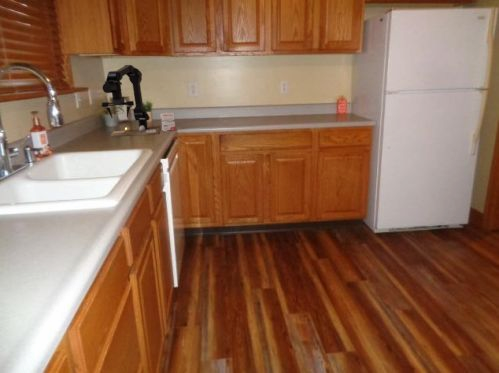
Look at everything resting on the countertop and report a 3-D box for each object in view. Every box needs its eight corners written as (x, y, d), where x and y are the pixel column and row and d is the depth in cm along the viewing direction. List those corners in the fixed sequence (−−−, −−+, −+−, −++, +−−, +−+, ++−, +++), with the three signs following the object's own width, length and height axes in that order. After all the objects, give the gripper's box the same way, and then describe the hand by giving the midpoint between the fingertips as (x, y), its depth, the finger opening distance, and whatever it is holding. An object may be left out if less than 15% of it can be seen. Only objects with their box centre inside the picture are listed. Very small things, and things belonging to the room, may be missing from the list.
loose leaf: (114, 132, 245) (113, 127, 244) (131, 131, 247) (130, 126, 246) (112, 134, 237) (112, 128, 236) (130, 133, 239) (129, 127, 238)
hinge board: (113, 134, 247) (112, 126, 245) (158, 131, 253) (157, 124, 252) (111, 137, 235) (110, 129, 234) (158, 134, 242) (157, 126, 240)
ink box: (174, 129, 260) (172, 112, 257) (175, 130, 256) (174, 112, 252) (161, 130, 257) (160, 113, 254) (163, 131, 252) (161, 113, 249)
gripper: (99, 93, 224) (103, 120, 229) (132, 92, 229) (135, 118, 233) (101, 92, 235) (104, 118, 239) (132, 91, 239) (135, 116, 244)
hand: (119, 117), depth 238 cm, fingers open, 9 cm apart
